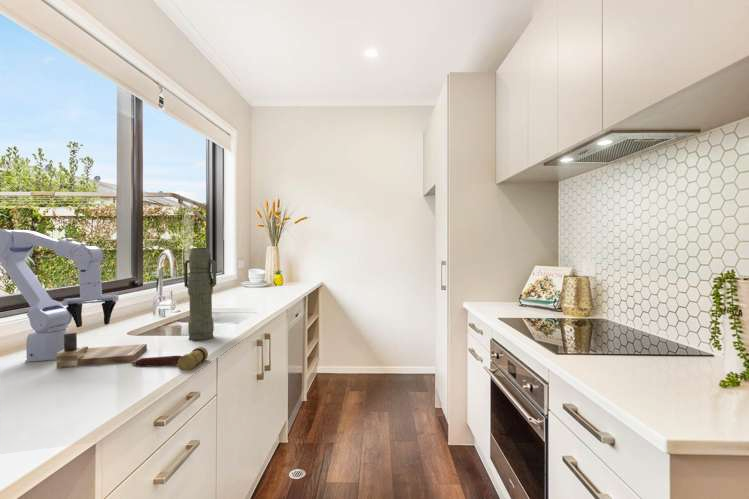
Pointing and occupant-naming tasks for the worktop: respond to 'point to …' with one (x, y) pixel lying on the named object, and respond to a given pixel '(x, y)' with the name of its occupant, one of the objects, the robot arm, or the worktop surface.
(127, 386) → the worktop surface
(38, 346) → the robot arm
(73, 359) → the rubber stamp
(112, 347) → the board
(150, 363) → the gavel
